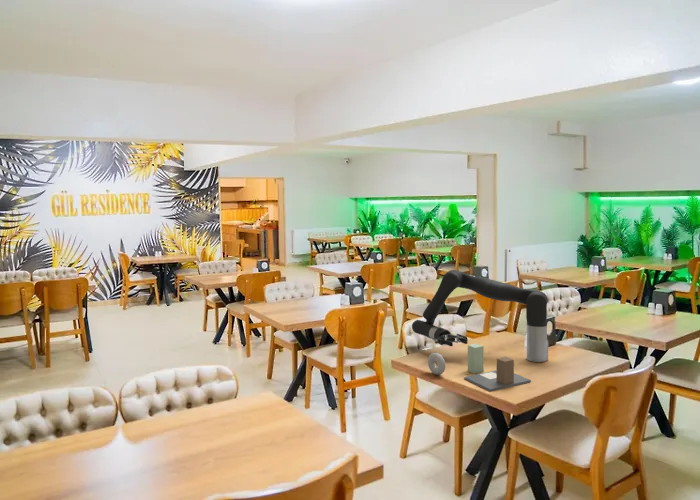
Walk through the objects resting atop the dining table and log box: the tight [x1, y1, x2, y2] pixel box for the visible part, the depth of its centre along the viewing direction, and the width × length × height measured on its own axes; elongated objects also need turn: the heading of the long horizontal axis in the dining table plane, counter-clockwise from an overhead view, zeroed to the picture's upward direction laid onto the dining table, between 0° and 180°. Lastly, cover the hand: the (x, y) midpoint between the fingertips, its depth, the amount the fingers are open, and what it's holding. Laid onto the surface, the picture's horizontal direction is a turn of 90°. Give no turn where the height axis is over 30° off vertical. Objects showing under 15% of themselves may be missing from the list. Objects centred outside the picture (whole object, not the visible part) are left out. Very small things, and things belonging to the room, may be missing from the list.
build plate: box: [463, 356, 532, 392], centre depth 231 cm, size 22×17×11 cm
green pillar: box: [467, 343, 485, 375], centre depth 244 cm, size 5×5×12 cm
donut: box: [427, 352, 446, 376], centre depth 241 cm, size 10×4×10 cm, turn 34°
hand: (459, 343), depth 254 cm, fingers open, 8 cm apart
